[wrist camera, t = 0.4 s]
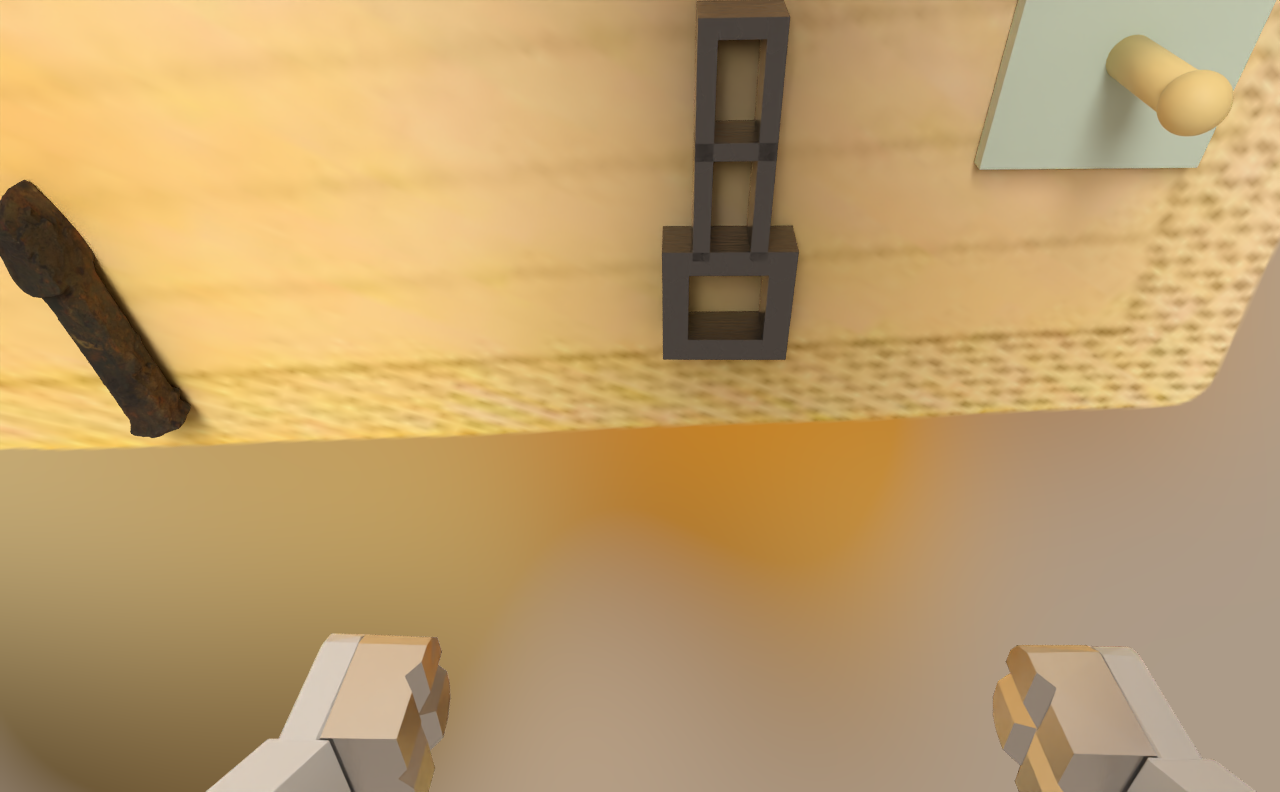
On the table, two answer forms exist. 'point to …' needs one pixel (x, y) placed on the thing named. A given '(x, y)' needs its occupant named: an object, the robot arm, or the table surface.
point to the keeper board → (1116, 82)
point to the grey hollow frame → (757, 249)
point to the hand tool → (85, 308)
